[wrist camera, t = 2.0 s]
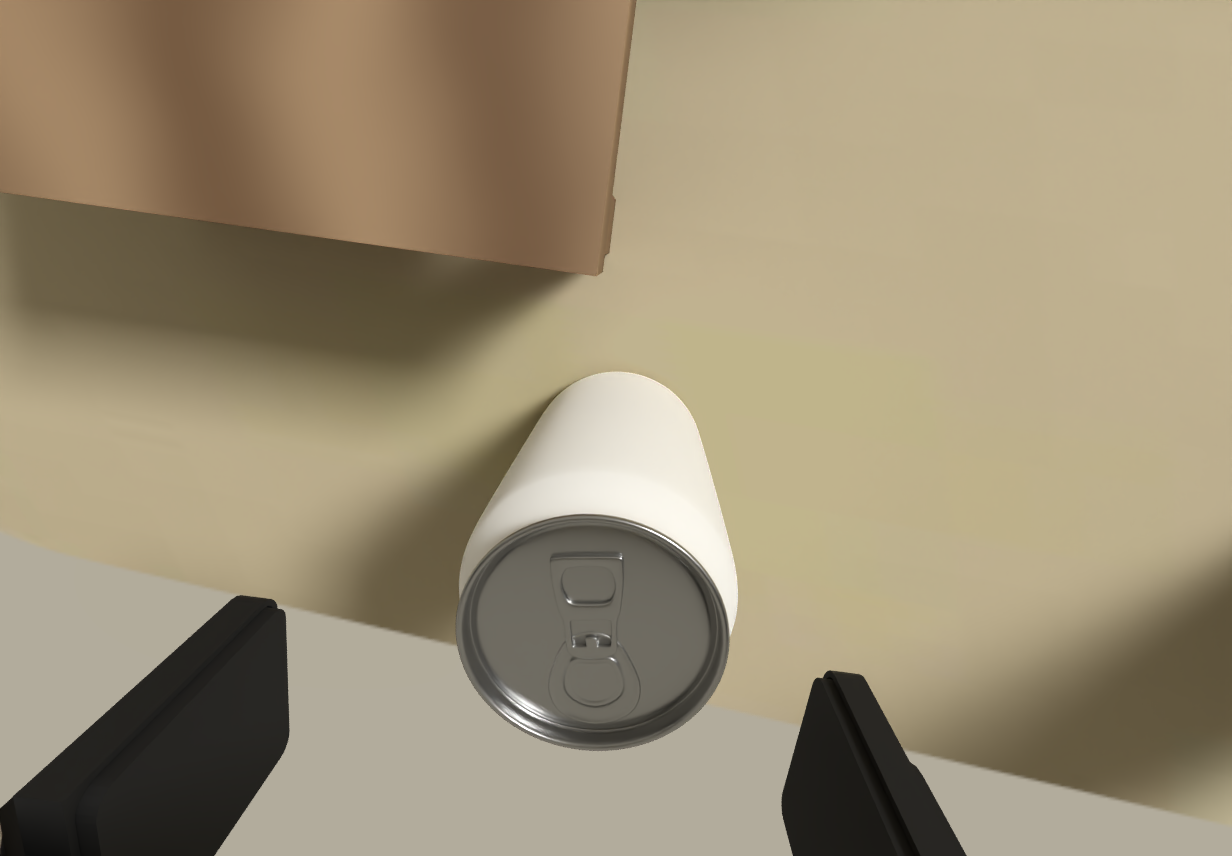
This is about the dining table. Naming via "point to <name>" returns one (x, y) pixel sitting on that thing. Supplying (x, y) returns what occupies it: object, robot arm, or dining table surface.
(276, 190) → the small wooden table
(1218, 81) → the dining table surface
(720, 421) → the dining table surface
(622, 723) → the can
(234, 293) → the dining table surface
